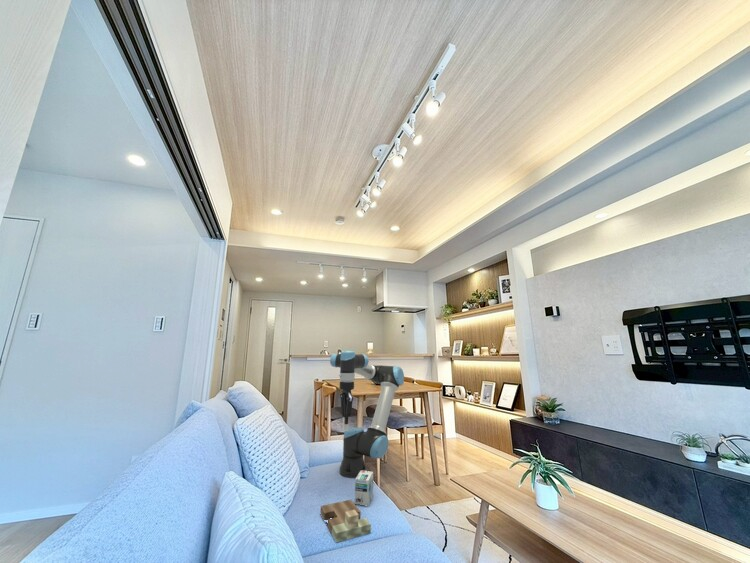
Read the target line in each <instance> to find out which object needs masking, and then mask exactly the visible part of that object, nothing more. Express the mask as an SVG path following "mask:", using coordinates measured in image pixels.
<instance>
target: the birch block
mask: <svg viewBox="0 0 750 563" xmlns="http://www.w3.org/2000/svg"><path fill="white" fill-rule="evenodd" d="M358 516H359V515H358V513H357V512H356V511H355V510H351V511H347V512H345V525H346V526H347V528H348V529H351V528H355V527H358Z"/></svg>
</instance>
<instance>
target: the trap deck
mask: <svg viewBox="0 0 750 563" xmlns="http://www.w3.org/2000/svg"><path fill="white" fill-rule="evenodd" d="M357 506H358V505H355V502H354V501H353V500H352V499H348V500H343V501H339V502H333V503H329V504H325V505H321V506H320V512H319V513H321V514H320V516H321V515H322V516H321V518H322V517H323V518H322V519H324V520H328V523H327V522H326V523H325V525H326V524H327V525H326V527H327V529H328V531H329V532H330V535H331V536H332V538H333V540H334V541H335V543H336V544H337V543H341V542H344V541H347V540H351V539H355V538H358V537H361V536H365V535H369V534H371V533H372V532H371V530H372V528H371V527H372V526H371V525H372V524H371V523H370V521H369V520H368V519H367V518H366V517H362V518H361V516H362V515H361V510H360V508H358V507H357ZM351 510H355V511H356V512H357V513H358V515H359V516H358V527H355V528H351V529H348V528H347V526H346V525H345V512H347V511H351ZM330 518H332V519H330ZM324 520H323V521H324Z"/></svg>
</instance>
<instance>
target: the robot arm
mask: <svg viewBox="0 0 750 563" xmlns="http://www.w3.org/2000/svg"><path fill="white" fill-rule="evenodd" d="M329 363H330V366H331V367H333V368H340V370H339V375H338V376H339V390H341V393H340V395H339V399H340V414H341V415H342V428H341V431H342V432H344V433H343V442H342V444H343V446H342V447H343V450H342V453H343V455H342V460H341V463H340V465H339V474H340V475H341V476H342V477H345V478H356V477H357V476H358V474H359V473H360V471H361V470H363V471H367V468H366V467H367V466H366V463H365V459H364V456H365V457H369V458H372V459H382V458H383V457H385V455H386V454H387V451H388V448H389V438H388V436H387V435H388V433H387V432H386V429H387V424H388V421H389V416H390V412H391V409H392V405H393V400H394V397H395V392H396V391H398V390H399V387H401V386H403V384H404V381H405V373H404V370H403V369H402V367H401V366H397V365H377V364H376V365H375V364H371V363H369V357H368V356H367V355H366V354H363V353H358V354H357V353H356V351H354V350H341V353H333V354H332V355H331V356H330V359H329ZM355 375H360V376H362V377H364V379H366V380H369V381H371V382H373V383H376V384H380V386H381V389H380V393H379V396H378V399H377V404H376V406H375V411H374V414H373V418H372V420H371V425H370V426H368V427H367V429H366V431H365V429H364V427H360V426H358V427H351V428H349V426H350V425H349V422H350V420H349V419H350V417H351V416H352V408H353V401H354V397H353V396H352V390H354V389H355V382H354V381H355Z"/></svg>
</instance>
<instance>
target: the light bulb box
mask: <svg viewBox="0 0 750 563" xmlns="http://www.w3.org/2000/svg"><path fill="white" fill-rule="evenodd" d="M354 480H355V482H354V483H355V486H354V487H355V488H354V491H355V492H354V493H355V494H354V504H360V505H367V506H368V507H369V506H370V504H371V502H372V500H373V497H374V471H369V470H366V471H363V470H361V471H360V473H359V474H358V476H357V477H355V479H354ZM360 505H359V506H360ZM367 506H366V507H367Z"/></svg>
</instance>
